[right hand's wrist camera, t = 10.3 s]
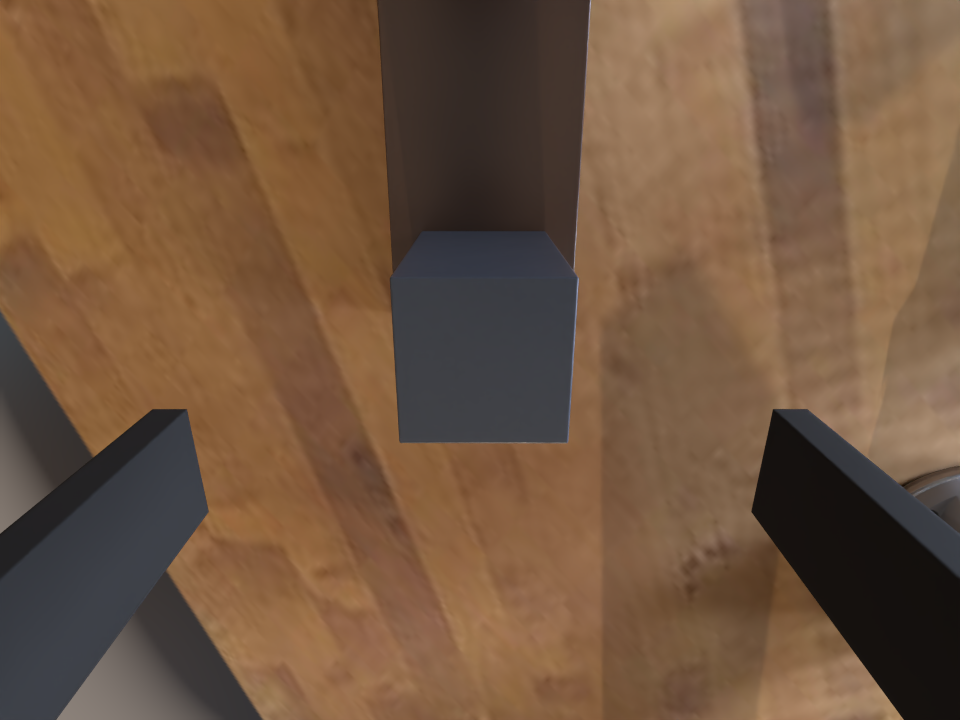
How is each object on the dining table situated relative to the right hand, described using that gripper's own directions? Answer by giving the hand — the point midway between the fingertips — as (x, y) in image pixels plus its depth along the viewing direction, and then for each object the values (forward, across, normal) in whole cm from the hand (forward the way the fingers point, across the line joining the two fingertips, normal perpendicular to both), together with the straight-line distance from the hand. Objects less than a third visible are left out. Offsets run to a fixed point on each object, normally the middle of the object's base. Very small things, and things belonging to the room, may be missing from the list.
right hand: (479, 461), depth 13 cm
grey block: (+16, 0, 0) cm, 16 cm away
